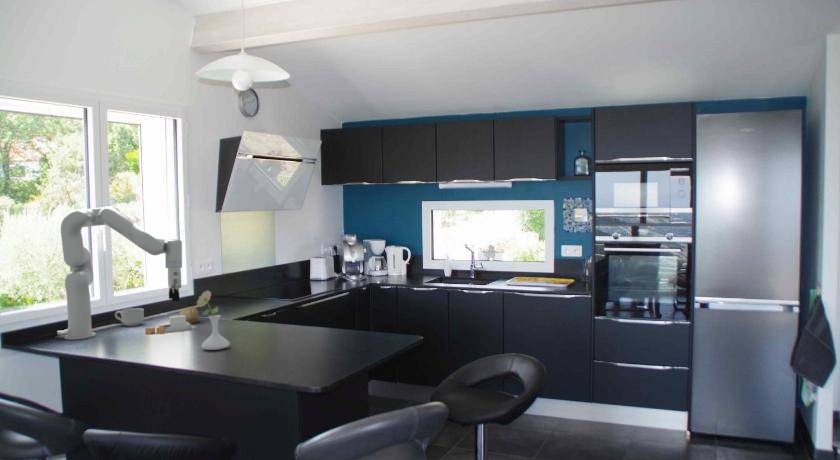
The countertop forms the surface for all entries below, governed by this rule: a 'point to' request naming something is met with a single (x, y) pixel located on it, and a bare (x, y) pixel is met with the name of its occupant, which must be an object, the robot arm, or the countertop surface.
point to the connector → (176, 321)
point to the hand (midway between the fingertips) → (174, 299)
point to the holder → (178, 328)
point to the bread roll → (190, 314)
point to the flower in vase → (215, 339)
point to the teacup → (131, 316)
